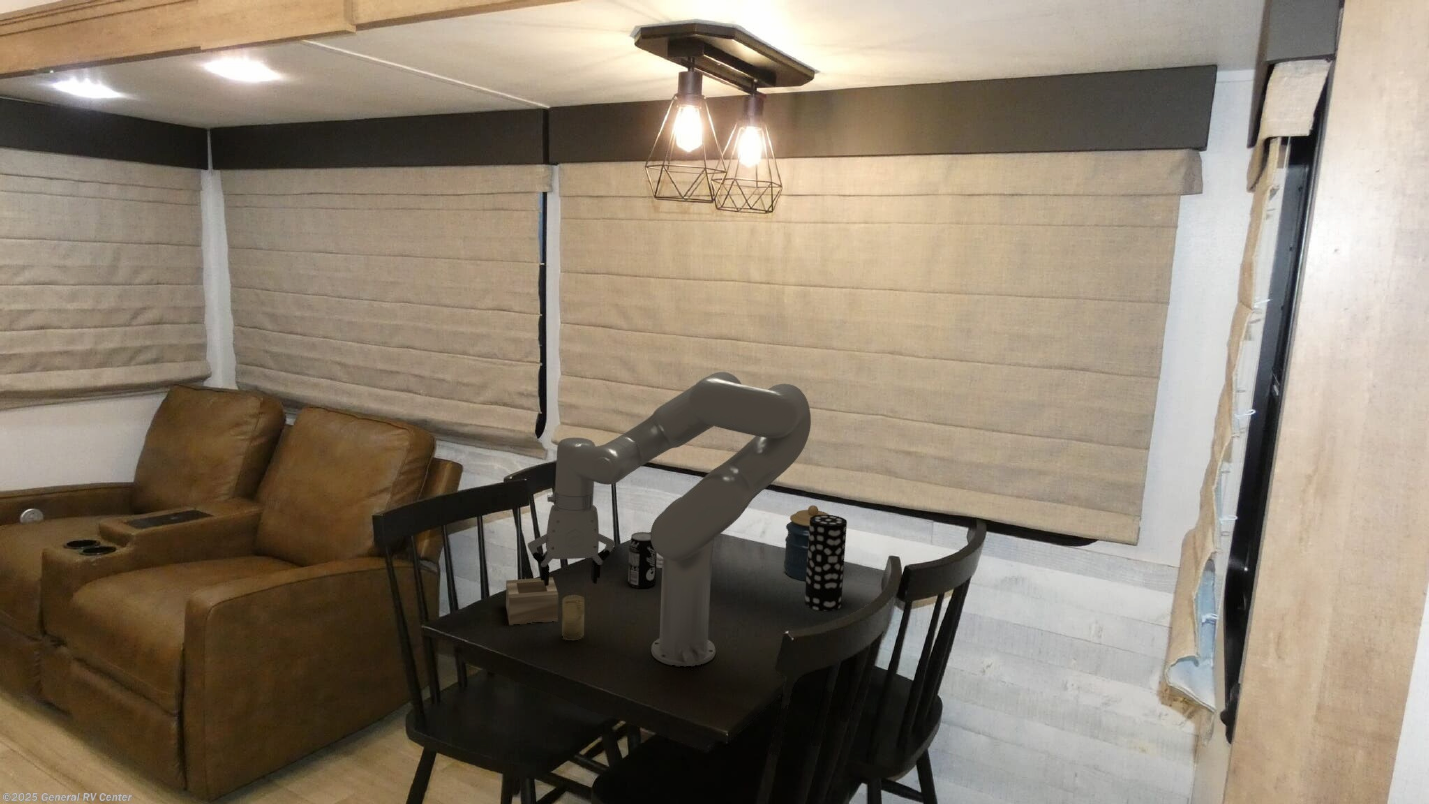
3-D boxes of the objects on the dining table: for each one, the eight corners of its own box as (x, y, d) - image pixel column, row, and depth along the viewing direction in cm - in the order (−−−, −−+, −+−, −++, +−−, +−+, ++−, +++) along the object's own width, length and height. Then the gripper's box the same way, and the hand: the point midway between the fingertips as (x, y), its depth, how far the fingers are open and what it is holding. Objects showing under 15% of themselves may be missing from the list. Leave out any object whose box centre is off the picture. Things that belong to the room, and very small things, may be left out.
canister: (834, 566, 219) (838, 500, 216) (835, 584, 207) (840, 514, 204) (784, 562, 221) (787, 496, 218) (782, 580, 208) (786, 511, 205)
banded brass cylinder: (585, 640, 170) (586, 602, 169) (563, 642, 169) (564, 604, 168) (582, 631, 175) (582, 594, 173) (560, 632, 173) (561, 595, 172)
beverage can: (657, 580, 204) (659, 532, 202) (653, 590, 198) (654, 541, 196) (631, 578, 205) (632, 530, 203) (625, 588, 198) (626, 539, 197)
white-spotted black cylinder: (813, 594, 200) (819, 512, 197) (846, 602, 196) (852, 519, 192) (798, 605, 193) (803, 520, 190) (832, 614, 189) (838, 527, 185)
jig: (557, 621, 179) (558, 594, 178) (509, 625, 176) (509, 598, 175) (552, 602, 188) (552, 577, 187) (506, 606, 185) (506, 580, 184)
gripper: (531, 507, 161) (528, 591, 164) (620, 505, 167) (616, 587, 169) (527, 495, 168) (524, 577, 171) (613, 494, 174) (609, 573, 176)
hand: (570, 582), depth 170 cm, fingers open, 9 cm apart
